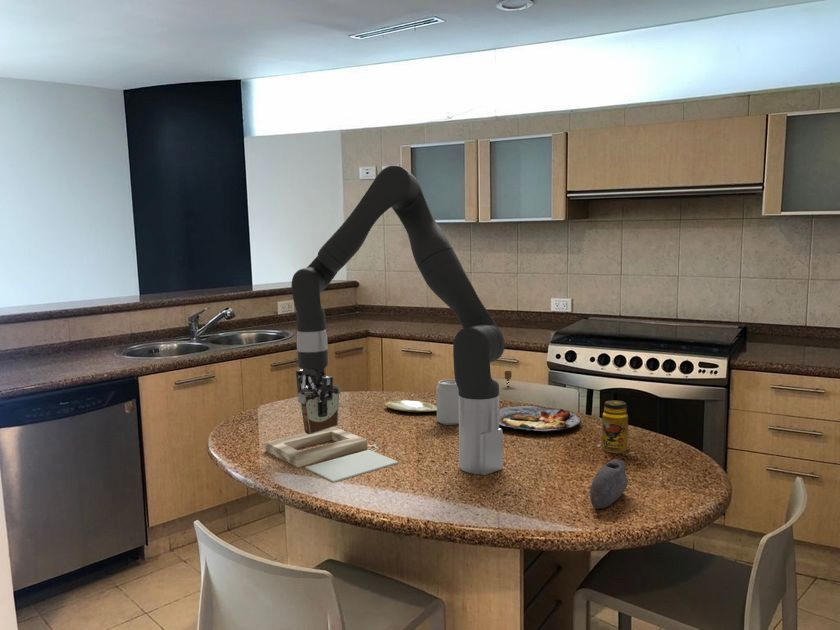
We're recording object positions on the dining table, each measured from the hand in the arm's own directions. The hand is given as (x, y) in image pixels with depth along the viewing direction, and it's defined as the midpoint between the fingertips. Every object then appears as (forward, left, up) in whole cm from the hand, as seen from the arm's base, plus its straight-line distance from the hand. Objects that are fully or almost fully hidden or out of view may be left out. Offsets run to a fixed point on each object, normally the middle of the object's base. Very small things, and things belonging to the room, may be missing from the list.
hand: (315, 413), depth 169 cm
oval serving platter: (+5, -45, -10) cm, 46 cm away
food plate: (-22, -57, -10) cm, 62 cm away
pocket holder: (0, 0, -10) cm, 10 cm away
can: (-5, -41, -10) cm, 42 cm away
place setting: (+21, -77, -10) cm, 80 cm away
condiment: (-50, -55, -10) cm, 75 cm away
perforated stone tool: (-68, -26, -10) cm, 73 cm away
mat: (-16, 0, -10) cm, 18 cm away
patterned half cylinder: (0, 0, -4) cm, 4 cm away
